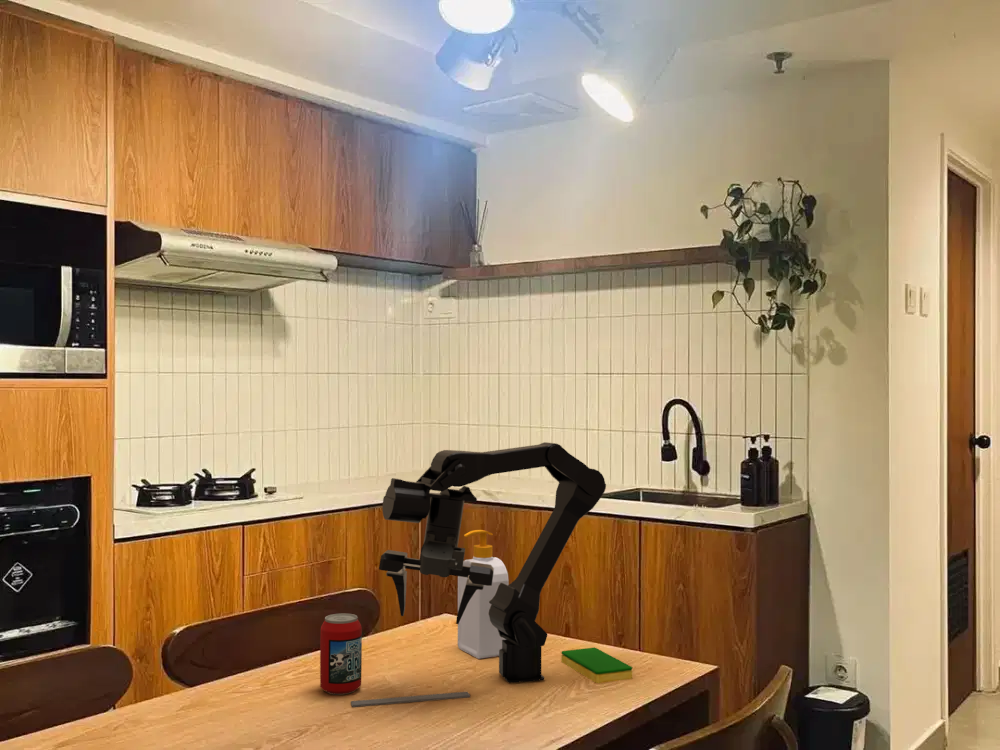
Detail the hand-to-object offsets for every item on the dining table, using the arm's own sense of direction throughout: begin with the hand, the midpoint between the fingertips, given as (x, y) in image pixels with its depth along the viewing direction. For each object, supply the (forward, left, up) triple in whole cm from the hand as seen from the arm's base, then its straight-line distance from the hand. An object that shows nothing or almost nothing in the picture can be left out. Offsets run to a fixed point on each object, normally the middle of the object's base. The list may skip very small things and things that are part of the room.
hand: (429, 619), depth 160 cm
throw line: (+4, +4, -12) cm, 13 cm away
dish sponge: (-31, -4, -12) cm, 33 cm away
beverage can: (+14, -3, -12) cm, 19 cm away
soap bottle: (-14, -20, -12) cm, 27 cm away
